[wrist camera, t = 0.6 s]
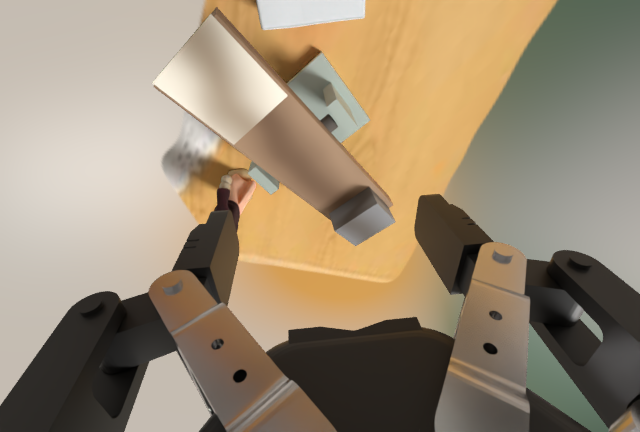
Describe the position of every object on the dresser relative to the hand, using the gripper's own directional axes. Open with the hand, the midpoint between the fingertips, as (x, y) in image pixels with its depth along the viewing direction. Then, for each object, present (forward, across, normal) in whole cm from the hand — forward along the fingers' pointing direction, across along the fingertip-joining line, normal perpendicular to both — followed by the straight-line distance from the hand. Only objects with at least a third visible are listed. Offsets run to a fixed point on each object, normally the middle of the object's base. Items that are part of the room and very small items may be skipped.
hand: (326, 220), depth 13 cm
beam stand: (+21, 0, +2) cm, 21 cm away
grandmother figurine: (+22, +8, +8) cm, 25 cm away
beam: (+15, +1, +2) cm, 16 cm away
